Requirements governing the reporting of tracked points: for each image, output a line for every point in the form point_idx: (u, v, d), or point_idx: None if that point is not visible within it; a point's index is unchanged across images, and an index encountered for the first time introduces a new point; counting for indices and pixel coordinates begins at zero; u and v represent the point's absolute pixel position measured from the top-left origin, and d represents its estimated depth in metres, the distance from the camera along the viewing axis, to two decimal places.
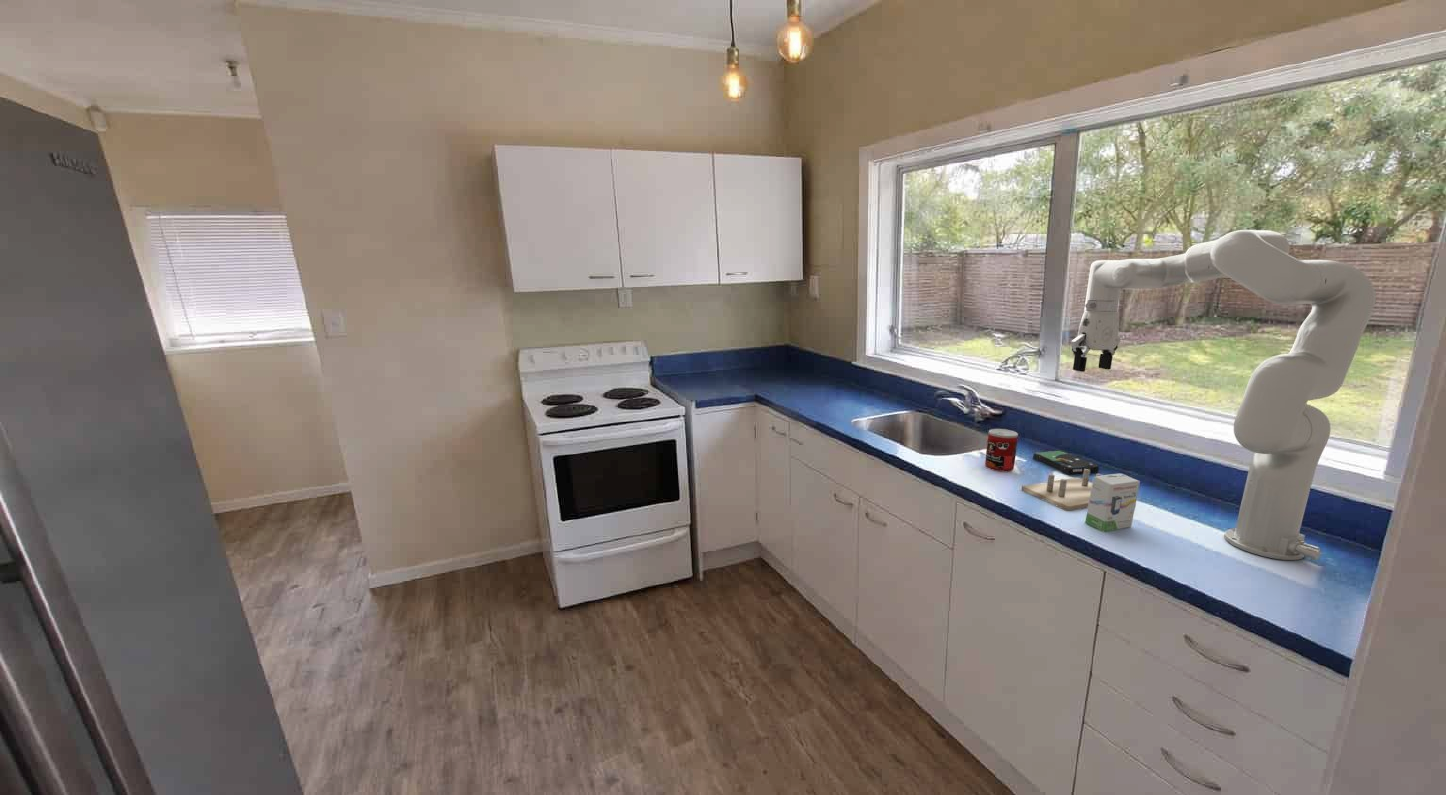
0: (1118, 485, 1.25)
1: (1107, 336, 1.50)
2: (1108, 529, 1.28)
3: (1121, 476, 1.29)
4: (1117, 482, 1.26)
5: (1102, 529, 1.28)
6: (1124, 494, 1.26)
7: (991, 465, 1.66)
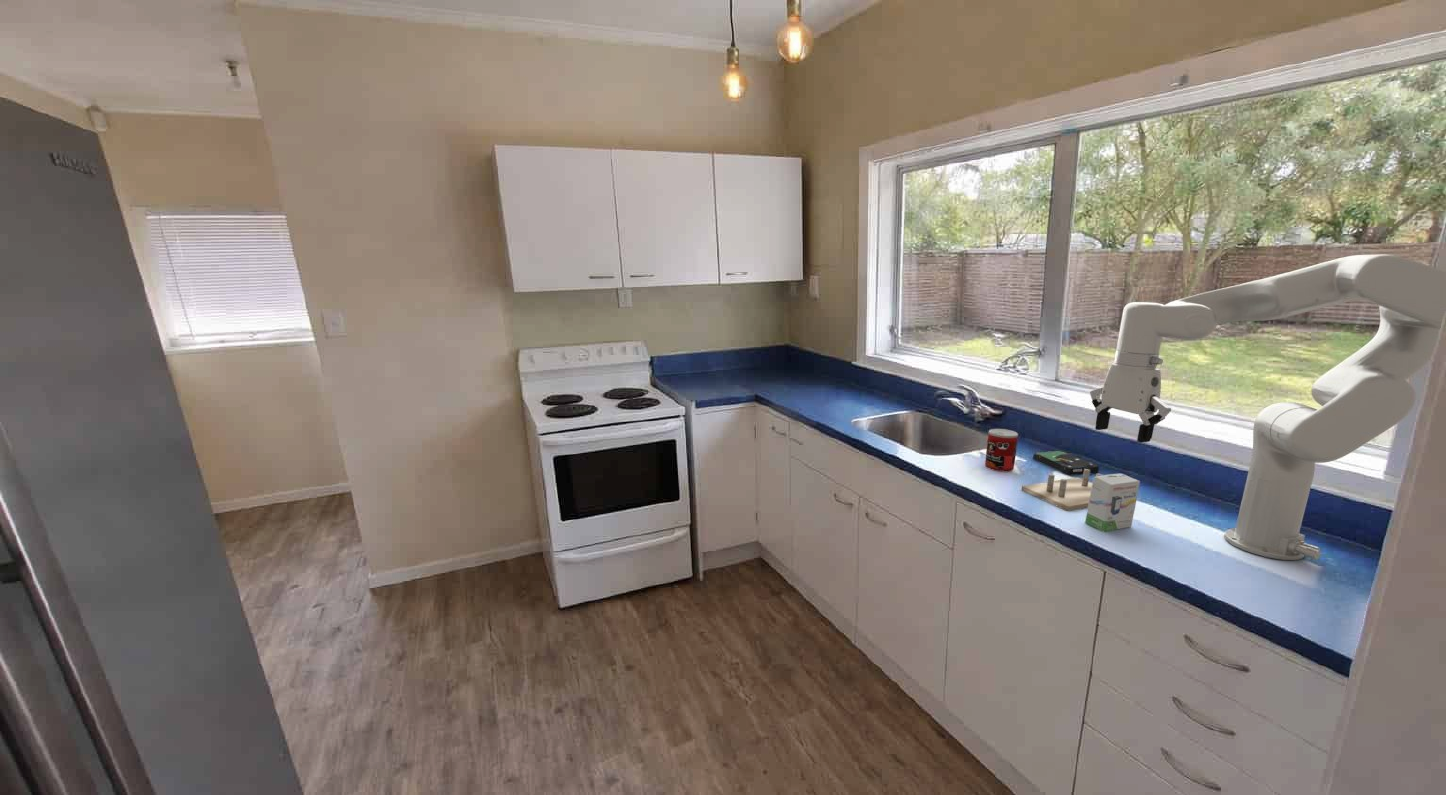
0: (1118, 485, 1.25)
1: None
2: (1108, 529, 1.28)
3: (1121, 476, 1.29)
4: (1117, 482, 1.26)
5: (1102, 529, 1.28)
6: (1124, 494, 1.26)
7: (991, 465, 1.66)
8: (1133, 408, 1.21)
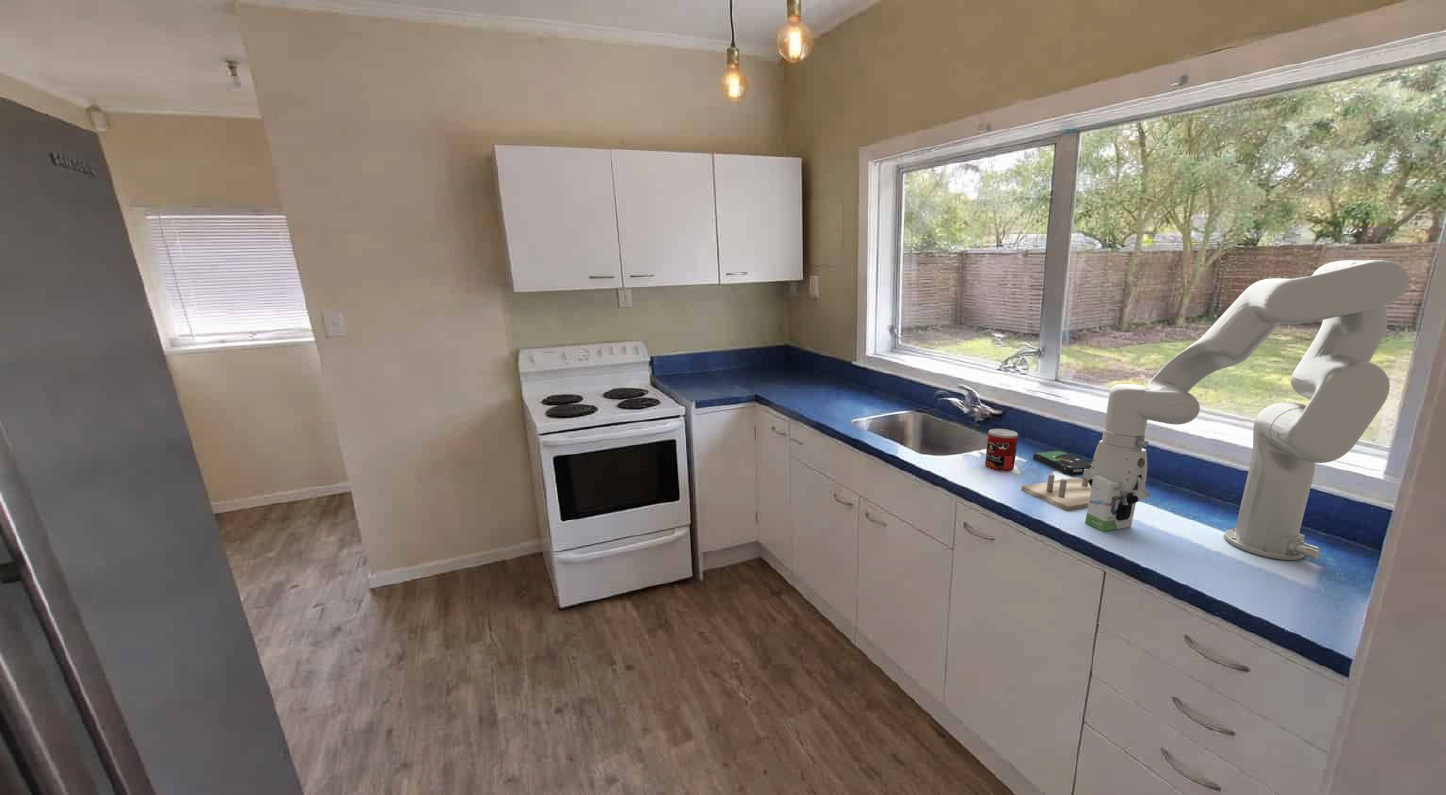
0: (1118, 484, 1.25)
1: None
2: (1108, 529, 1.28)
3: None
4: None
5: (1102, 529, 1.28)
6: None
7: (991, 465, 1.66)
8: (1121, 487, 1.25)
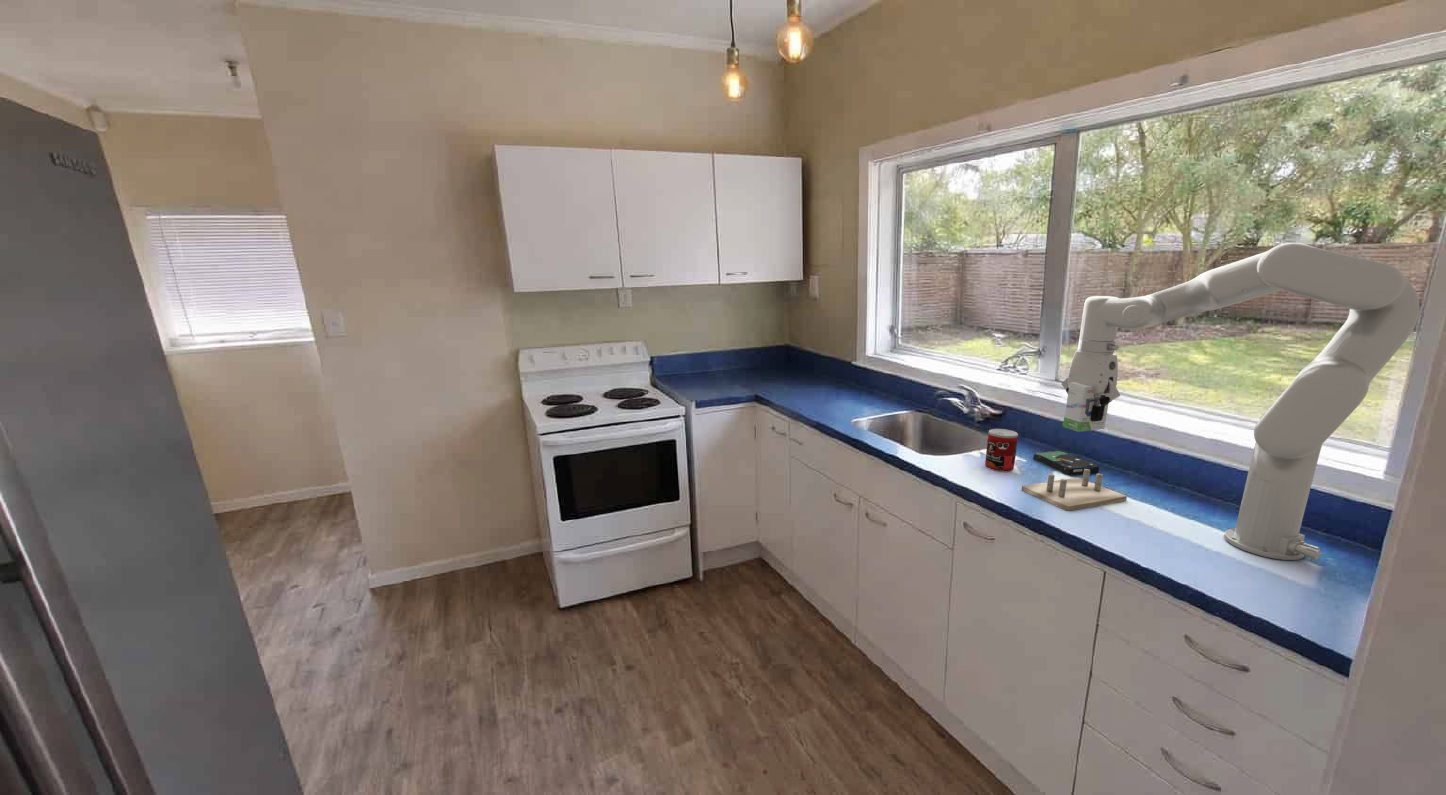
0: (1092, 387, 1.38)
1: None
2: (1083, 430, 1.40)
3: None
4: None
5: (1077, 429, 1.40)
6: None
7: (991, 465, 1.66)
8: (1094, 389, 1.38)
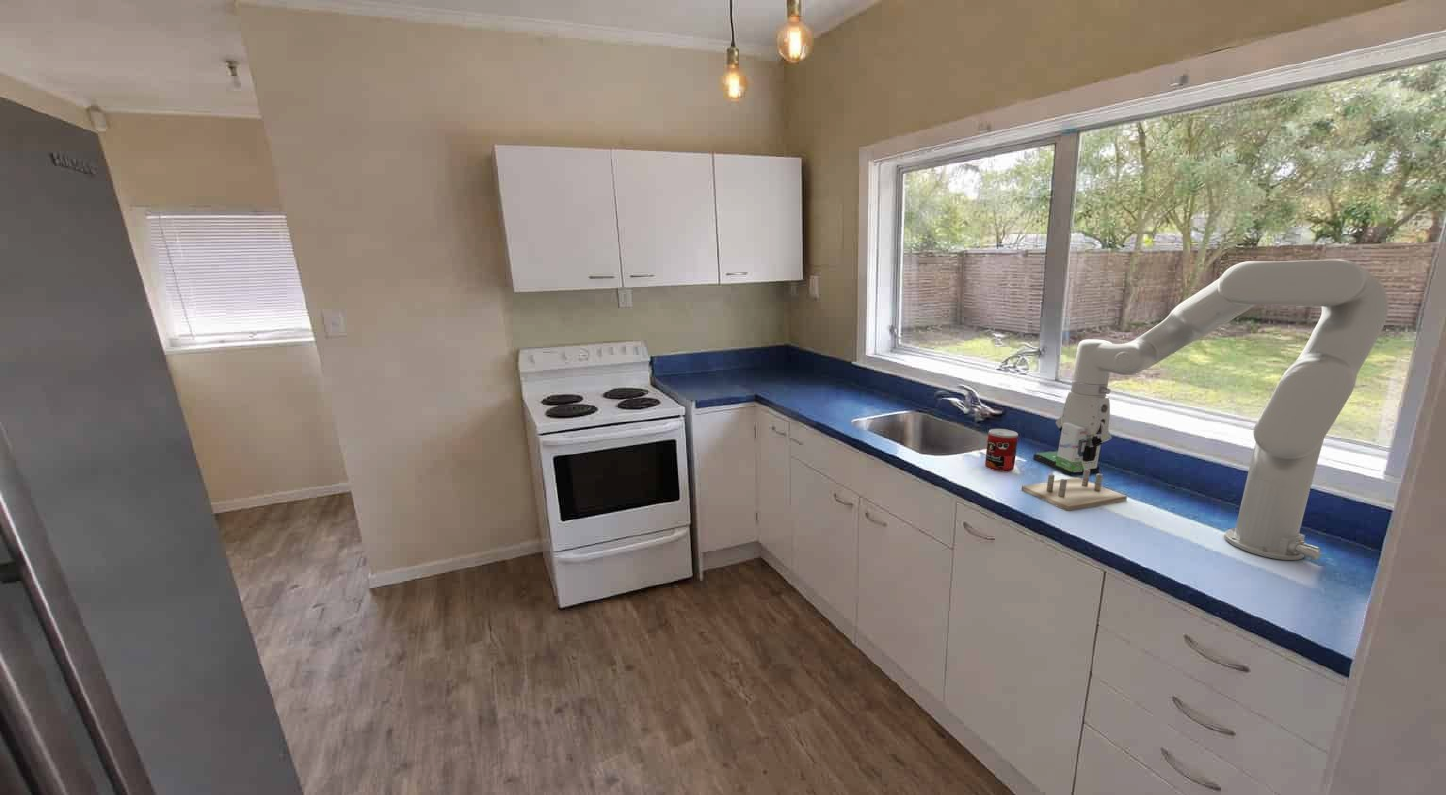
0: (1084, 429, 1.41)
1: None
2: (1075, 469, 1.43)
3: None
4: None
5: (1070, 469, 1.43)
6: None
7: (991, 465, 1.66)
8: (1086, 430, 1.40)
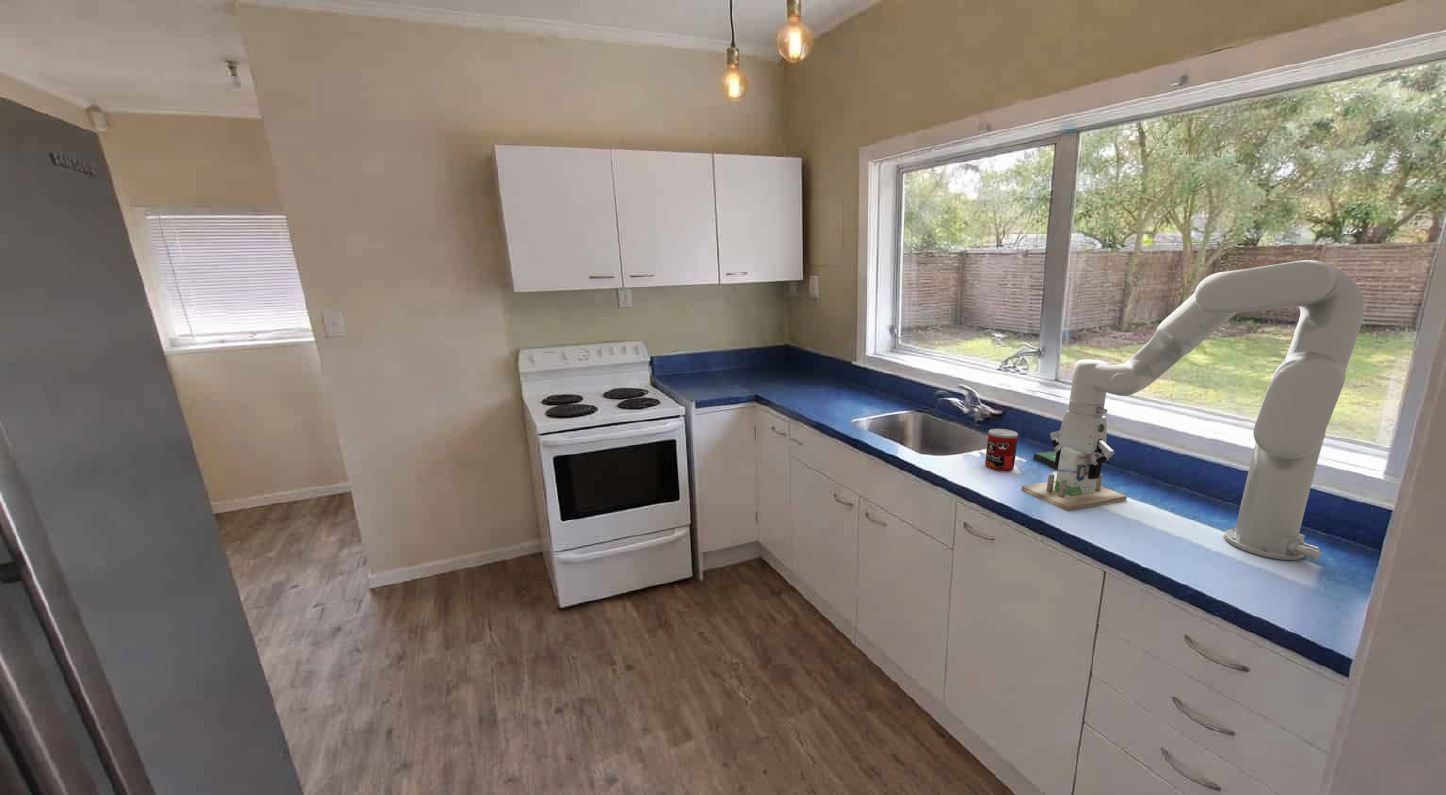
0: (1083, 454, 1.42)
1: None
2: (1074, 494, 1.44)
3: None
4: None
5: (1069, 494, 1.44)
6: (1088, 462, 1.43)
7: (991, 465, 1.66)
8: (1084, 450, 1.41)
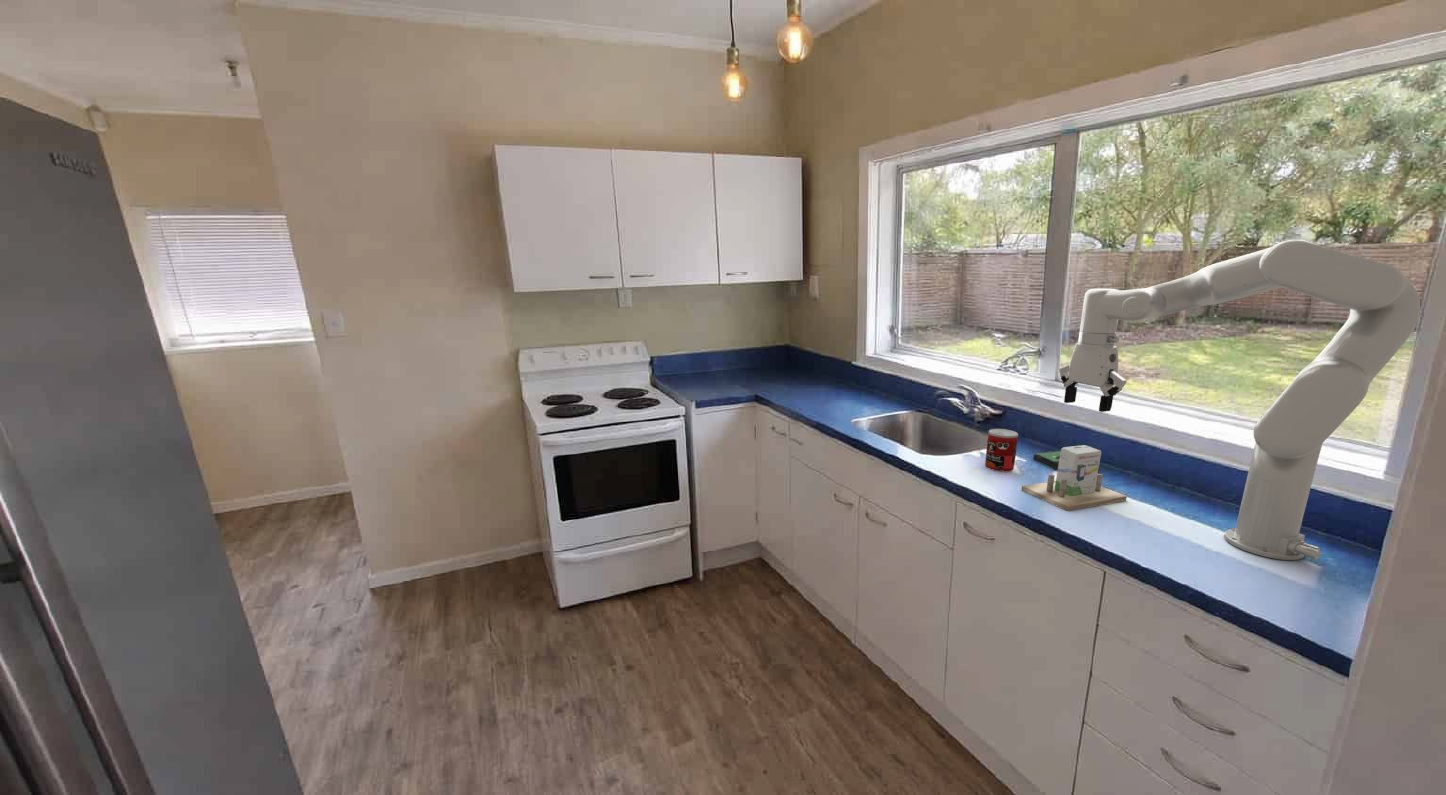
0: (1083, 454, 1.42)
1: None
2: (1074, 494, 1.44)
3: (1086, 447, 1.45)
4: (1082, 451, 1.43)
5: (1069, 494, 1.44)
6: (1088, 462, 1.43)
7: (991, 465, 1.66)
8: (1095, 381, 1.37)
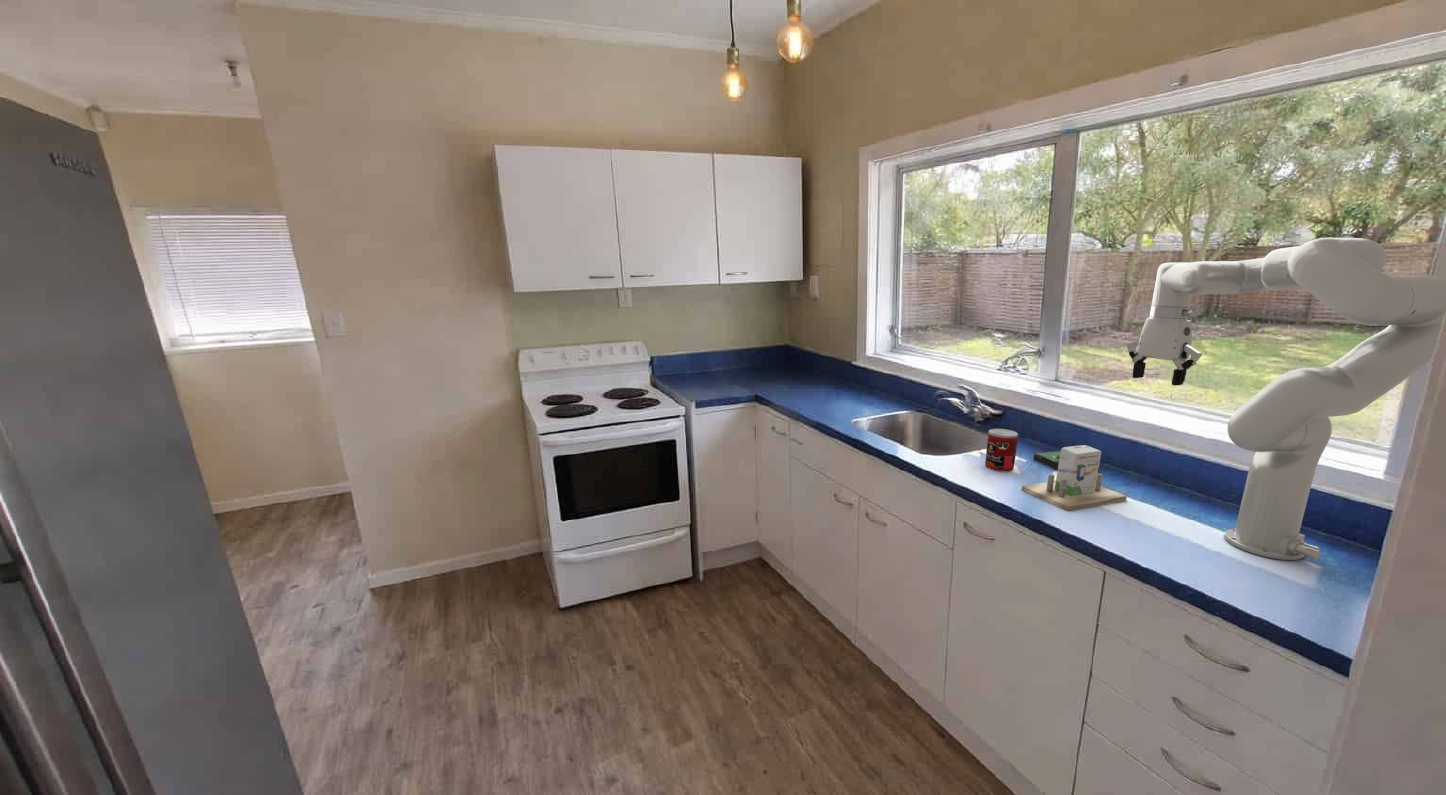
0: (1083, 454, 1.42)
1: None
2: (1074, 494, 1.44)
3: (1086, 447, 1.45)
4: (1082, 451, 1.43)
5: (1069, 494, 1.44)
6: (1088, 462, 1.43)
7: (991, 465, 1.66)
8: (1167, 355, 1.38)
